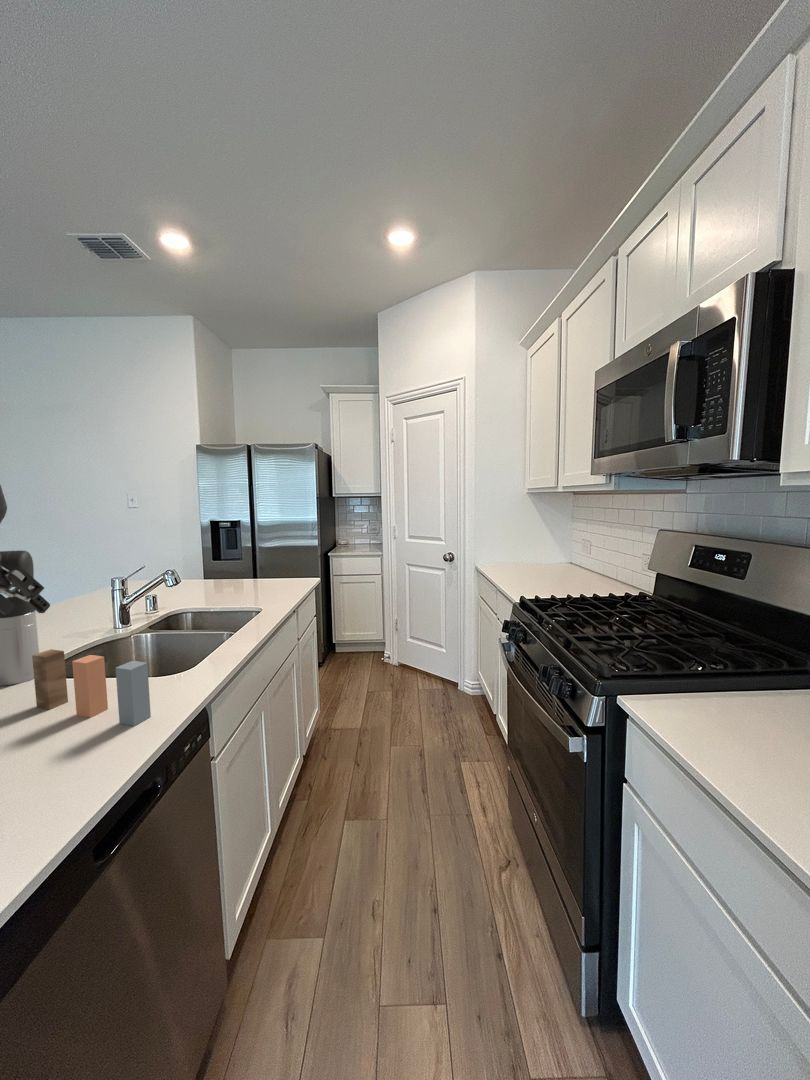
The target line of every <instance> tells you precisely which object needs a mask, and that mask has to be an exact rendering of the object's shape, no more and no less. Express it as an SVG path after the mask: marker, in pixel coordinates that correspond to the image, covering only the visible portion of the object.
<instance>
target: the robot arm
mask: <svg viewBox="0 0 810 1080" xmlns="http://www.w3.org/2000/svg"><path fill="white" fill-rule="evenodd" d="M6 501H7V500H6V498H5V494H4V492H3V488H2V485H1V484H0V524H1V523H2V522H3V520H4V518H5V517H6V514H7V512H8V505H7V502H6ZM34 571H35V569H34V561H33V556H32V555H31V553H30V552H29V551H27V550H3V551H2V550H1V551H0V686H11V685H16V684H22V683H25V682H28V681H32V680H34V671H33V660H32V655H35V654H38V653H40V647H39V646H40V645H39V635H38V625H37V616H36V612H37V614H45V613H46V611H47V610H48V609H49V608H50V607H51V603H50V602H49V601H48V600H46V599H45V598H44V597H43V596H42V594H41V593H42V592H43V591H44V589H45V586H43V585H42V584H41V583H40V582H39V581H37V580H36V579H35V577H34ZM40 594H41V595H40ZM4 595H5V596H7V597H5V596H4Z"/></svg>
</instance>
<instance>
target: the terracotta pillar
mask: <svg viewBox="0 0 810 1080" xmlns="http://www.w3.org/2000/svg"><path fill="white" fill-rule="evenodd" d="M72 674H73V686H74V696H75V697H74V700H75V701H74V702H75V712H76V715H77V716H81V717H85V718H93V717H94V716H97V715H100V714H101V713H103V712H106V711H107V710H109V705H108V692H107V679H106V677H107V676H106V663H105V656H101V655H94V654H89V655H86V656H83V657H80V658H77V659H75V660H72Z"/></svg>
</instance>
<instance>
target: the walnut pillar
mask: <svg viewBox="0 0 810 1080" xmlns="http://www.w3.org/2000/svg"><path fill="white" fill-rule="evenodd" d="M32 660H33V671H34V679H33V680H34V690H35V691H34V692H35V703H36V708H38V709H44V710H53V709H55V708H57V707H59V706H61V705H63V704H66V703H68V702H69V697H68V696H69V694H68V685H67V672H66V659H65V651H64V650H59V649H58V650H57V649H53V648H52V649H51V648H50V649H47V650H44V651H42V652H39V653H38V654H35V655H32Z"/></svg>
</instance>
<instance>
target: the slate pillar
mask: <svg viewBox="0 0 810 1080" xmlns="http://www.w3.org/2000/svg"><path fill="white" fill-rule="evenodd" d="M148 665H149V664H148V662H145V661H138V660H131V661H128V662H126V663H124V664H121V665H118V666H115V678H116V679H115V681H116V690H117V691H116V692H117V708H118V718H119V719H118V722H119V724H122V725H126V726H132V727H135V726H137V725H139V724H141V723H143V722H145V721H146V720H148V719H150V718H151V717H152V715H151V714H152V713H151V701H150V700H151V699H150V685H149V684H150V683H149V682H150V681H149V670H148Z"/></svg>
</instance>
